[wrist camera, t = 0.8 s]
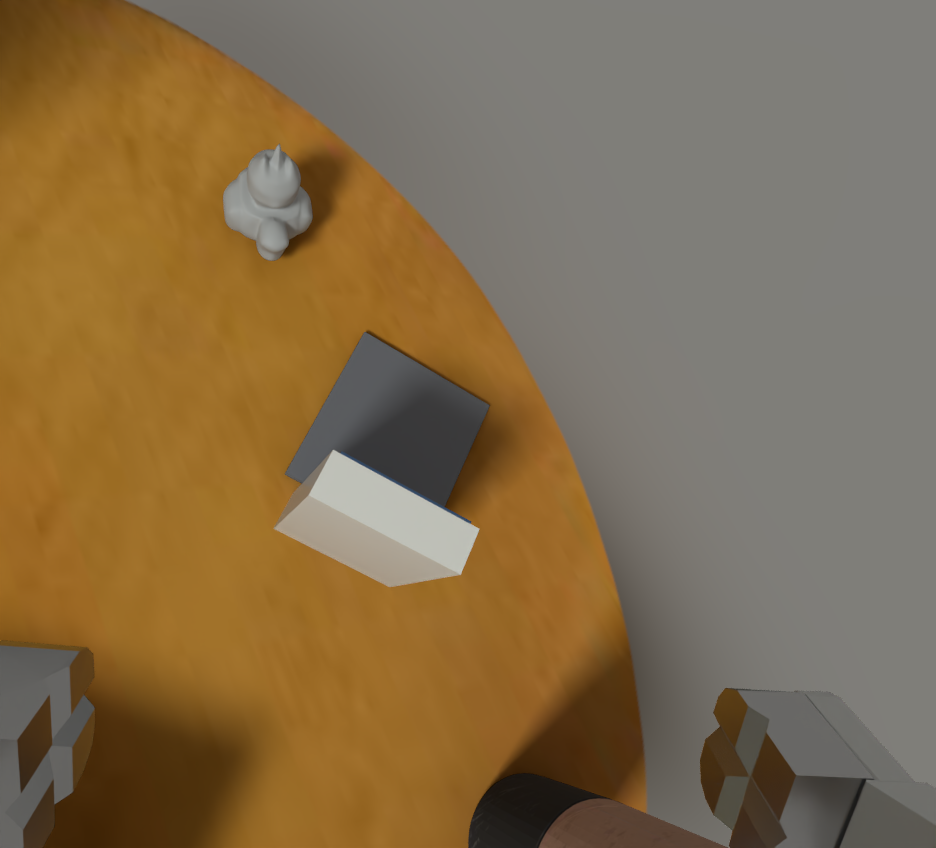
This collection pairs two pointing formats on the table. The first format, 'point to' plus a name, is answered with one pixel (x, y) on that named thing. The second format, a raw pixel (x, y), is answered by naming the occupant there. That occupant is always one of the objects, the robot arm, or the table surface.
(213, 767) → the table surface
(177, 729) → the table surface
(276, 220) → the grey animal figurine
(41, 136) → the table surface
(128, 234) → the table surface
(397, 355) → the mat
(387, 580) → the white flat box
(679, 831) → the travel mug
